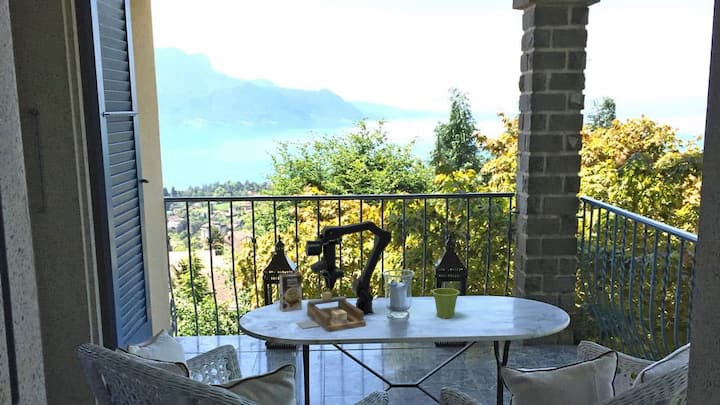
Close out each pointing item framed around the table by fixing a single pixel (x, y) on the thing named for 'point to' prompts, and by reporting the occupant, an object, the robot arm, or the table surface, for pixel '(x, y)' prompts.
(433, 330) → the table surface
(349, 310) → the puzzle board
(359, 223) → the robot arm
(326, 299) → the latch bar
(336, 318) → the beech block
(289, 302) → the coffee box
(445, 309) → the plant pot
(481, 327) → the table surface
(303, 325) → the slate mat
